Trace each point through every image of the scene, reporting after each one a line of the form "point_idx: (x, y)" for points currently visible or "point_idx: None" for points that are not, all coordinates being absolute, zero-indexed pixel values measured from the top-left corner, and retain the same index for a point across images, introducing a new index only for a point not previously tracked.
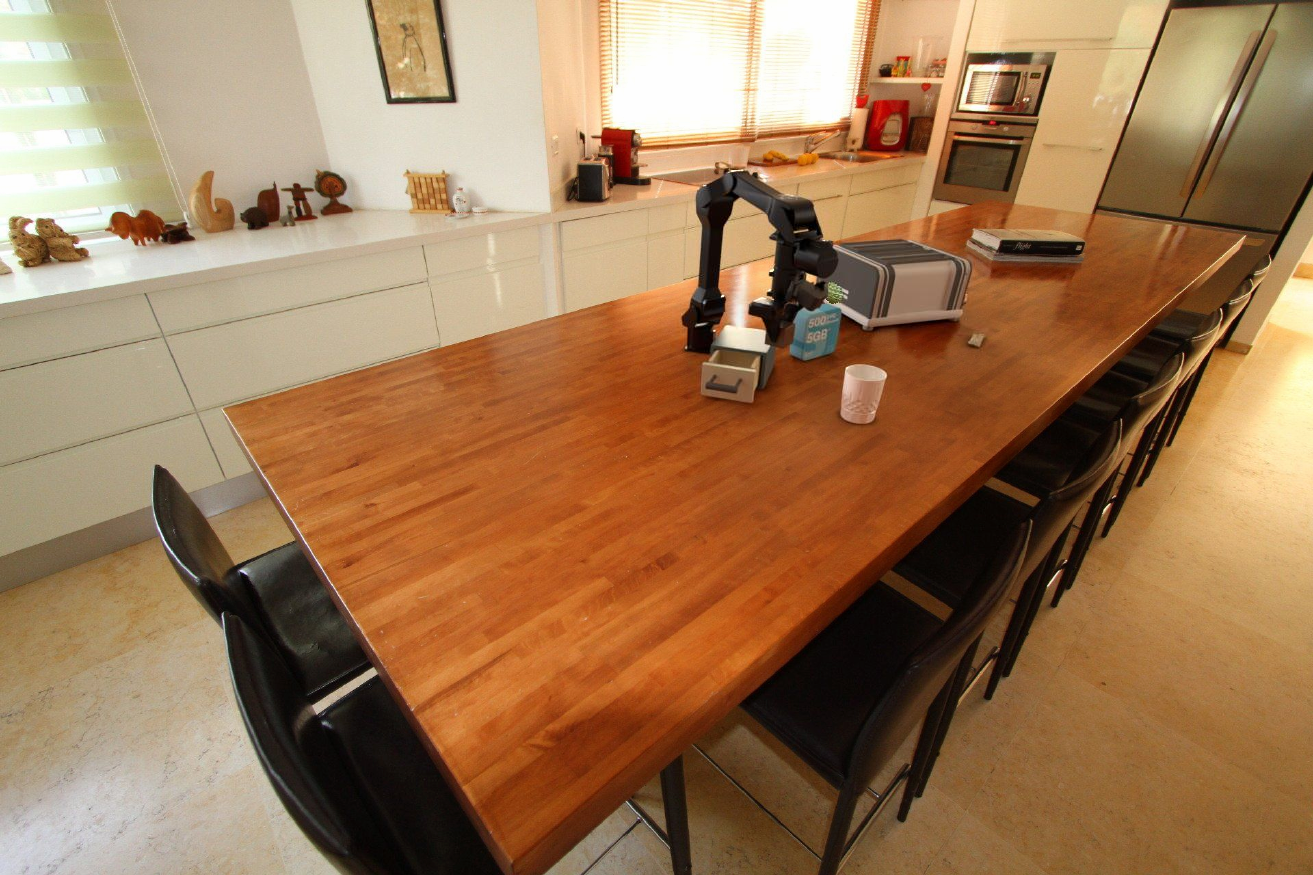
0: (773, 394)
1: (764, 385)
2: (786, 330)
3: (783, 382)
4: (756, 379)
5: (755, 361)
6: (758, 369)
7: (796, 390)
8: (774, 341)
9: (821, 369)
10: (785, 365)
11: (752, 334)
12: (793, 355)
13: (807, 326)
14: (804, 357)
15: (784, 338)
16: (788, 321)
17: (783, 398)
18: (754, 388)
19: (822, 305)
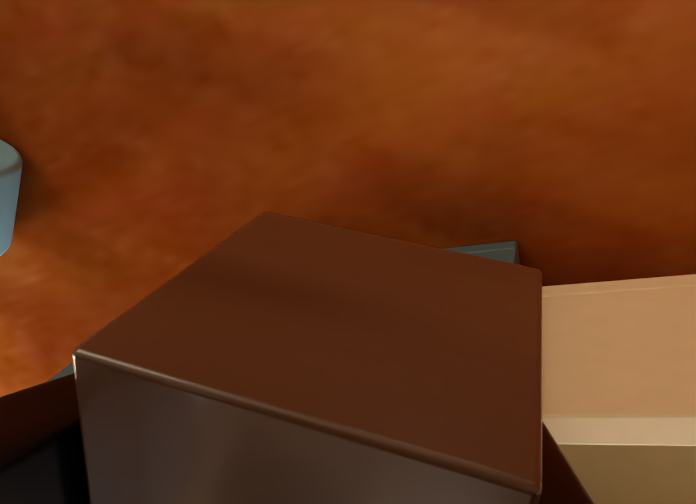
0: (545, 155)
1: (456, 248)
2: (471, 431)
3: (336, 159)
4: (599, 314)
5: (665, 433)
6: (551, 351)
7: (401, 37)
8: (543, 438)
9: (36, 16)
10: (129, 224)
11: None
12: (13, 222)
13: None
14: (3, 155)
15: (532, 349)
16: (72, 479)
17: (576, 70)
18: (645, 287)
19: None
